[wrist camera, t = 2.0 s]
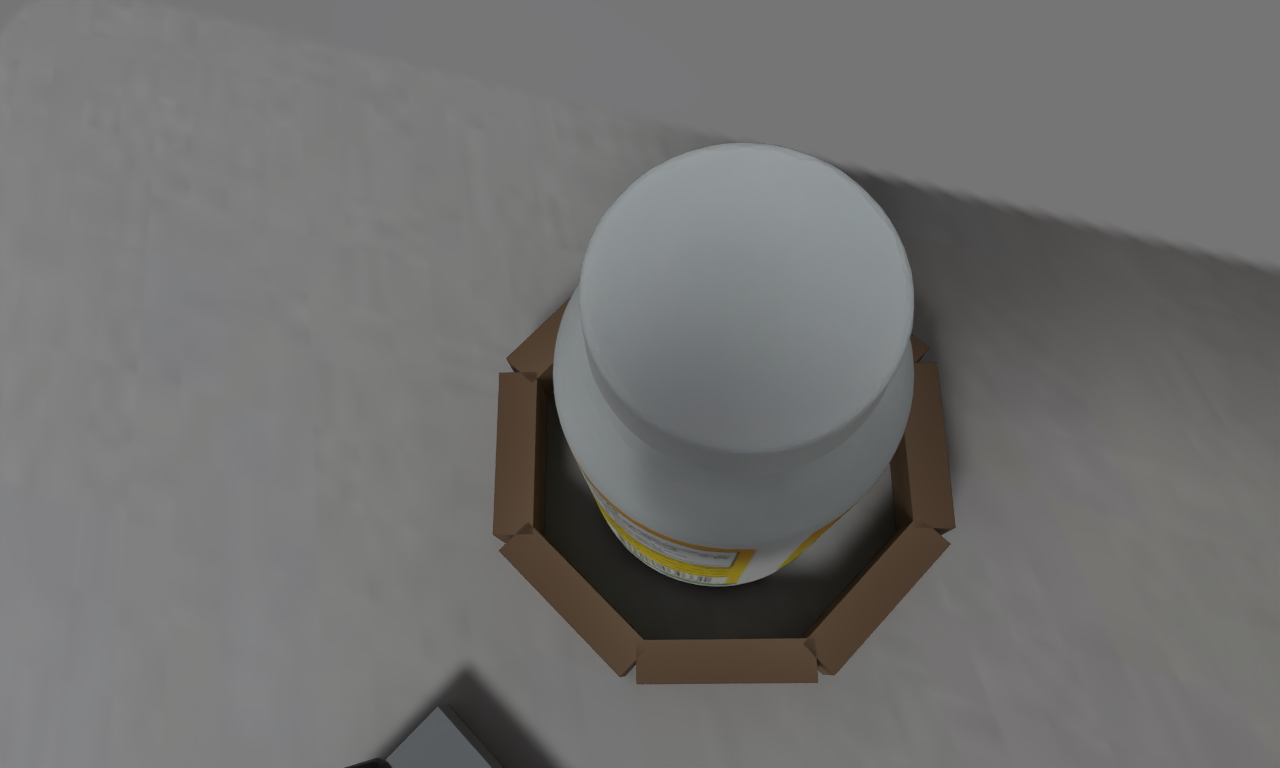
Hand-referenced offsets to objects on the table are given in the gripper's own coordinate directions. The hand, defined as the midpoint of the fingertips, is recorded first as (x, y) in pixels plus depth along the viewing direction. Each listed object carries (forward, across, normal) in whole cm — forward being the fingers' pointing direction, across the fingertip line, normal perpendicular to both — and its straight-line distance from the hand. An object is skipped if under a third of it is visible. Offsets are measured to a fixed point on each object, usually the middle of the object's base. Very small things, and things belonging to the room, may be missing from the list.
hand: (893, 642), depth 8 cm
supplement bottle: (+11, 0, +5) cm, 12 cm away
